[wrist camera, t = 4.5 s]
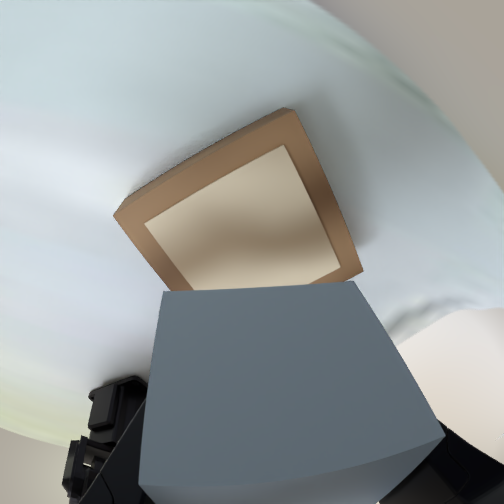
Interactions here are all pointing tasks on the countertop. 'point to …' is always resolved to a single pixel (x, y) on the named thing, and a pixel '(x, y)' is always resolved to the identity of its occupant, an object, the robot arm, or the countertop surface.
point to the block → (279, 400)
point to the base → (243, 214)
